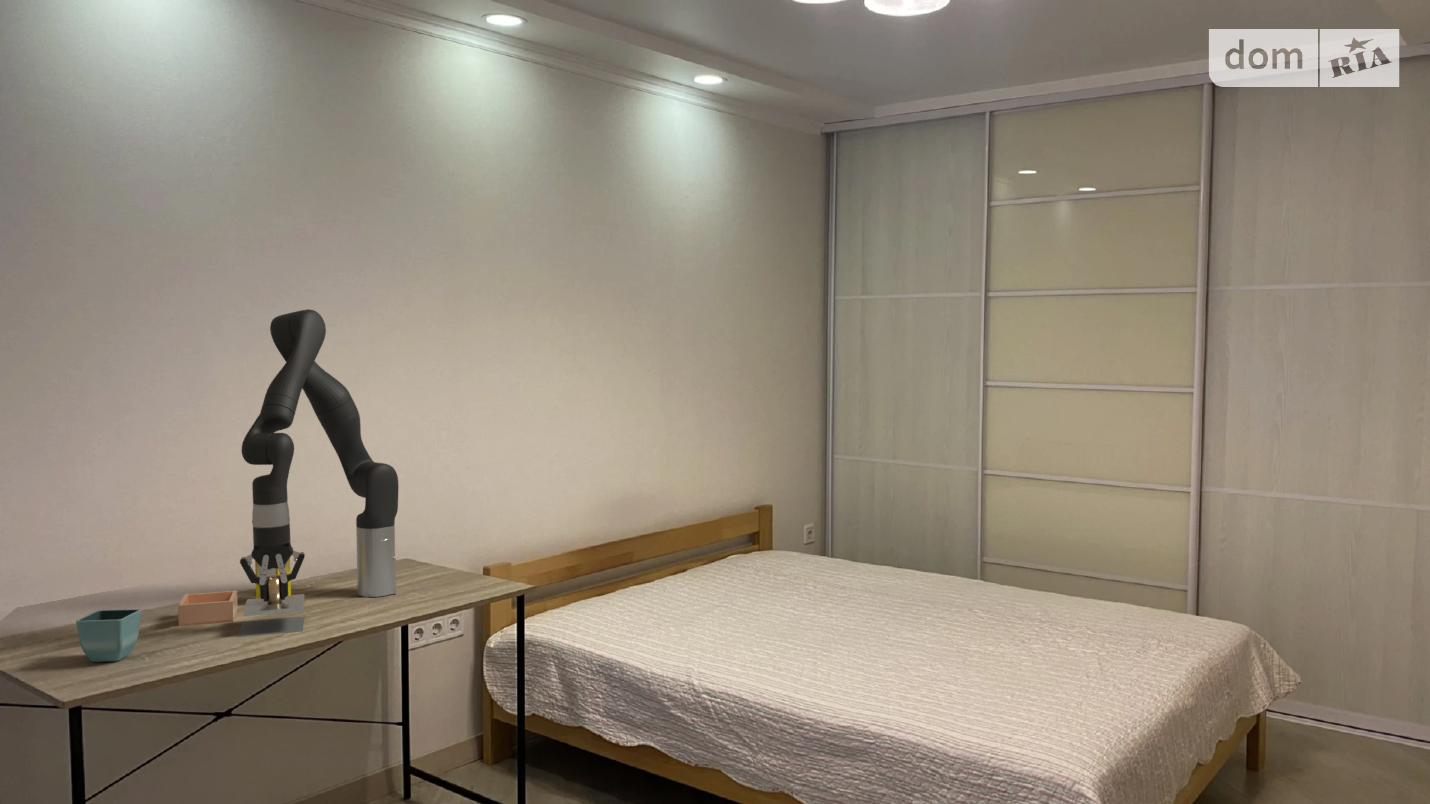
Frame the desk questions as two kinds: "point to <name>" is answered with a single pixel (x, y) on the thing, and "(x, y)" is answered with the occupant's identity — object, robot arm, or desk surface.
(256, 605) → the lid
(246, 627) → the mat
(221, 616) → the open box
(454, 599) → the desk surface
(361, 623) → the desk surface
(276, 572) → the supplement box
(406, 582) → the desk surface
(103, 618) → the flower pot
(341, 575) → the desk surface
